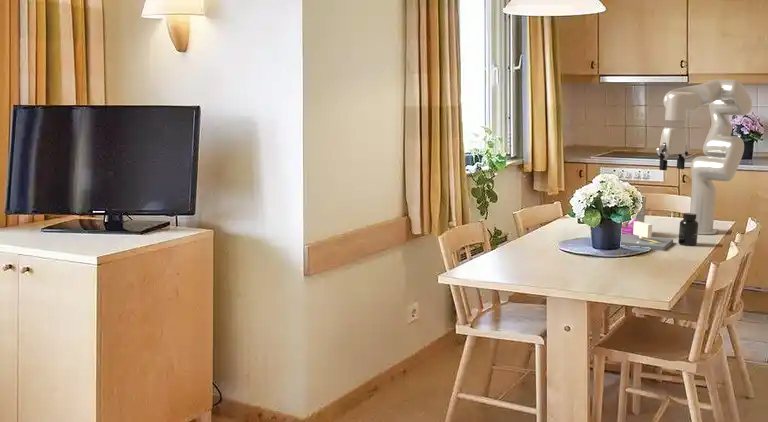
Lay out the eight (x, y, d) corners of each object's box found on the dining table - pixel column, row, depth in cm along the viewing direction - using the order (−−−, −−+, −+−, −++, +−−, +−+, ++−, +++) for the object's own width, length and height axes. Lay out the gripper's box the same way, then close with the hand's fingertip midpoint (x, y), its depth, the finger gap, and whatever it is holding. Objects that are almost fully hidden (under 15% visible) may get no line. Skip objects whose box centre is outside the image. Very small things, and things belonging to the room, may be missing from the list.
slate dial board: (621, 237, 356) (621, 233, 356) (673, 242, 347) (673, 238, 347) (609, 244, 341) (609, 240, 341) (663, 250, 331) (663, 246, 331)
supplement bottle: (698, 246, 341) (700, 215, 339) (679, 245, 342) (681, 214, 340) (695, 243, 347) (697, 212, 346) (677, 242, 349) (679, 211, 347)
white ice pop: (632, 237, 347) (633, 221, 346) (636, 236, 348) (637, 221, 347) (655, 243, 336) (656, 226, 335) (659, 242, 336) (660, 226, 335)
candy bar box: (614, 232, 366) (616, 193, 363) (622, 231, 369) (624, 192, 366) (635, 237, 357) (638, 196, 354) (643, 236, 360) (646, 196, 357)
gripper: (682, 124, 351) (679, 167, 354) (651, 125, 342) (648, 169, 345) (697, 125, 345) (694, 169, 348) (666, 126, 336) (663, 171, 339)
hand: (671, 169), depth 346 cm, fingers open, 9 cm apart
